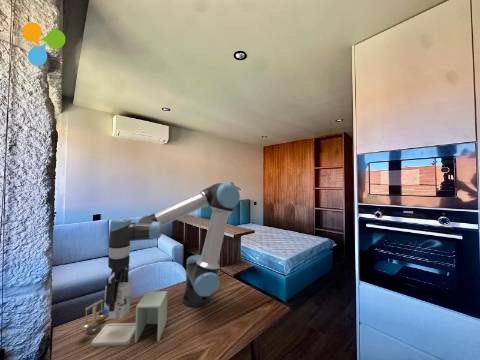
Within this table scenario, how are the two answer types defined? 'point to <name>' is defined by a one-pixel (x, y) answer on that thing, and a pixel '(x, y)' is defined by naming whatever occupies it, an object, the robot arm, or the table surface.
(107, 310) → the ink box
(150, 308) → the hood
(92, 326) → the balance
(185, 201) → the robot arm
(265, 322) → the table surface
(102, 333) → the dish
